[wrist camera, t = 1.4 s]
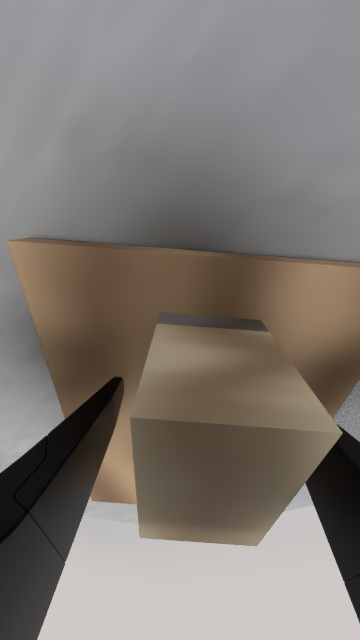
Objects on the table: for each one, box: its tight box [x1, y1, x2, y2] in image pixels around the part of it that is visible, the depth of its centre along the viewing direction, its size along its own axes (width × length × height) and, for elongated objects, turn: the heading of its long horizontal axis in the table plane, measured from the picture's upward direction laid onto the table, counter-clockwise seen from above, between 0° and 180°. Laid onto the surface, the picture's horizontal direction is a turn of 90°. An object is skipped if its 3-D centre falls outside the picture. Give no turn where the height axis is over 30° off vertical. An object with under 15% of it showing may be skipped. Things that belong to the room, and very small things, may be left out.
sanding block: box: [130, 312, 343, 546], centre depth 8 cm, size 4×7×5 cm, turn 176°
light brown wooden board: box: [7, 238, 360, 504], centre depth 13 cm, size 16×22×1 cm
